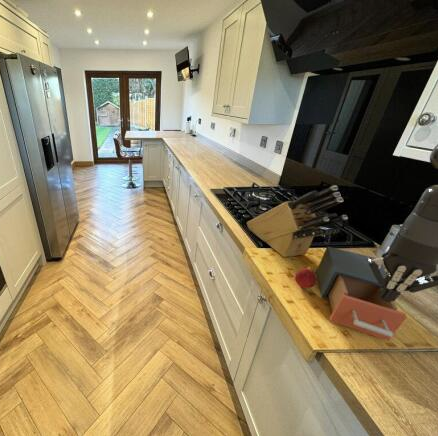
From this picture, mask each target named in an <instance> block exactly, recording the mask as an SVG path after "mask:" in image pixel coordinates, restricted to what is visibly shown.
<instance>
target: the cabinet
mask: <svg viewBox="0 0 438 436" xmlns="http://www.w3.org/2000/svg"><path fill="white" fill-rule="evenodd" d="M369 257H371V258H373V259H375V258H376V257H373V256H369V255H365V254H360V253H356V252H352V251H349V250H344V249H340V248H336V247H331V246H326V249H325V250H324V253H323V256H322V257H321V260H320V261H319V264H318V266H317V268H316V270H315V271H316V275H317V276H316V277H317V282H318V286H319V291H320V296H321V299H324V300H327V301H330V300H329V296H328V292H329V290H330V288H331V286H332V284H333V282H334V280H335V278H336V276H337V274H338V275H342V276H345V277H349V278H352V279H356V280H360V281H363V282H367V283H370V284H374V285H378V286H382V284H379V283H378V281H377V279H376V278H375V276H374V274H373V272H372V270H371V268H370V266H369V264H368V262H367V258H369ZM378 269H379V268H378ZM379 270H380V272H381V274H382V276H383V277H385V276H386V272H385V270H384V268H383V267H381V268H380V269H379Z"/></svg>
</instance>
